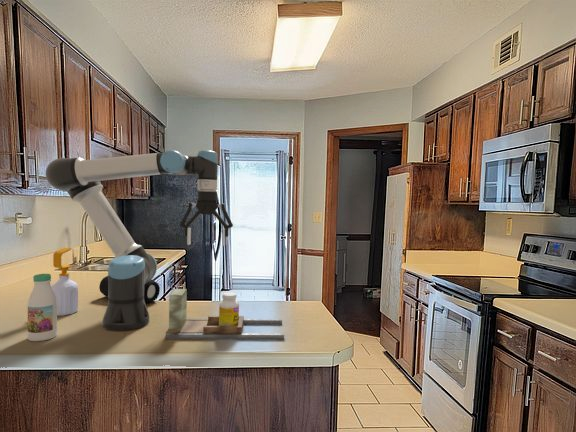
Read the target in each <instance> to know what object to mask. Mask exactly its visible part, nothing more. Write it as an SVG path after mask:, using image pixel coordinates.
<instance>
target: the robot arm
mask: <svg viewBox="0 0 576 432" xmlns="http://www.w3.org/2000/svg"><path fill="white" fill-rule="evenodd" d="M218 160H219V159H218V153H217V152H216V151H213V150H198V151H197V155H185V154H182V153H181V152H180V151H178V150H174V149H173V150H172V149H170V150H166V151H163V152H155V153H154V152H153V153H152V152H151V153H144V154H133V155H125V156H124V155H123V156H121V155H120V156H113V157H104V158H91V159H84V158H82V157H68V158H67V157H59V158H56V159H54V160H52V161H51V162H50V163H49V164H48V165H47V167H46V169H45V178H46V181H47V182H48V184H49V185H50V186H51V187H53V188H54V189H56V190H59V191H63V192H67V193H68V195H69V197H70V198H71V200H72V201H73V202H76V203H79V204H80V205H81V206H82V208H83V210H84V211H85V213H86V214H87V216H88V217H89V219H90V220H91V222H92V223H93V225H94V226H95V228H96V229H97V230H98V232H99V234H100V236H101V237H102V238H103V240H104V242H105V243H106V244H107V246H108V248H109V249H110V251H111V252H112V253H113V255H114V258H112V259H111V260H110V261H109V262H108V268H107V276H108V297H107V299H108V300H107V301H108V303H107V306H106V310H105V312H104V314H103V318H102V328H103V329H105V330H107V331H114V332H116V331H117V332H124V331H131V330H136V329H140V328H143V327H145V326H147V325H148V324H149V323H150V314H149V310H148V308H147V305H146V303H145V302H144V285H145V284H146V283H147V282H149V281H150V280H153V279H154V276H155V275H156V273H157V270H158V263H157V260H156V258H155V257H154V256H153V255H151V253H148V252H147V251H146V250H145V248H144V246H143V245H141V244H137V243H136V242H135V241H134V239H133V237H132V236H131V234H130V233H129V231H128V230H127V228H126V227H125V225H124V224H123V222H122V220H121V219H120V217H119V216H118V214H117V213H116V211H115V210H114V209H113V207H112V205H111V204H110V202H109V200H108V199H107V197H106V196H105V195H104V193H103V188H104V185H103V184H102V182H101V181H109V180H119V179H129V178H138V177H148V176H155V175H156V176H157V175H175V176H197V190H198V192H197V195H196V196H197V199H196V203H194V202H189V203H188V207H187V210H186V212H185V214H184V216H183V218H182V220H181V222H180V223H179V226H180V227H183V228H184V236H185V237H186V239H187V243H186V245H187V246H190V245H191V242H192V239H191V238H192V237H191V236H192V228H191V227H190V226H191V225H192V224H193V223H194V222H195V221H196V219H198V217H199V216H200V215H207V216H208V215H209V216H210V215H211V216H212V215H213V216H214V217H215V218H216V220H218V222H220V223H219V224H221V225H222V227H223V228H222V246H223V247H225V245H226V238H228V237H229V229H230V228H233V227H234V223H233V222H232V220H231V218H230V216H229V214H228V211H227V210H226V204H225V203H220V204H219V203H218V191H217V190H218V171H219V170H218V168H219V167H218V166H219V163H218ZM195 207H196V209H197V211H196V212H195V213H194V215H193V216H192V217H191V218H190V219H189V217H190V215H191V213H192V211H193V210H194V209H195ZM218 209H220V210H221V211H222V214H223V216H224V218H225V220H226V221H225V220H224V219H223V218H222V216H220V214H219V213H218V211H217V210H218ZM188 219H189V220H188ZM187 221H188V222H187ZM226 222H227V223H226Z"/></svg>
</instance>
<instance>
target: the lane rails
mask: <svg viewBox="0 0 576 432" xmlns="http://www.w3.org/2000/svg"><path fill="white" fill-rule="evenodd" d="M186 320H191V321H208V318H186ZM243 325H283V319H281V318H279V319H278V318H276V319H275V318H271V319H269V318H268V319H267V318H259V319H258V318H244V324H243ZM165 340H285V333H260V332H259V333H253V332H251V333H243V332H242V333H167V334H166V333H165Z"/></svg>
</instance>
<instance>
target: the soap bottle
mask: <svg viewBox="0 0 576 432" xmlns="http://www.w3.org/2000/svg"><path fill="white" fill-rule="evenodd" d="M69 251H71V248H70V247H63V248H60V249H58V250H56V251H55V252H54V253H53V257H52V260H53V261H52V263H53V265H52V266H53V267H54V268H57V269H59V271H61V273H59V274H58V280H57V281H56V282H54V283H53V284H51V288H52V290H53V292H54V293H55V296H56V300H57V317H59V316H61V317H62V316H63V317H64V316H68V315H69V316H70V315H73V314H76V312H78V311H79V286H78V283H77V282H75V281H74V280H72V279H70V273H69V272H67V271H69V268H73V265H69V264H64V265H62V256H63V254H65V253H67V252H69Z"/></svg>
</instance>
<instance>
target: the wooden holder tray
mask: <svg viewBox="0 0 576 432" xmlns="http://www.w3.org/2000/svg"><path fill="white" fill-rule="evenodd" d="M187 289H188V288H175V289H173V290H172V292H171V293H170V294H169V295H168V329H167V330H166V331H165V335H166V334H167V333H243V331H244V325H245V324H244V319H245V317H244V315H239V321H238V326H219V315H208V316H207V317H208V318H207V319H208V321H191V320H186V319H187V307H188V305H187V303H188V301H187V300H188V297H187V295H188V291H187Z"/></svg>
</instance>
